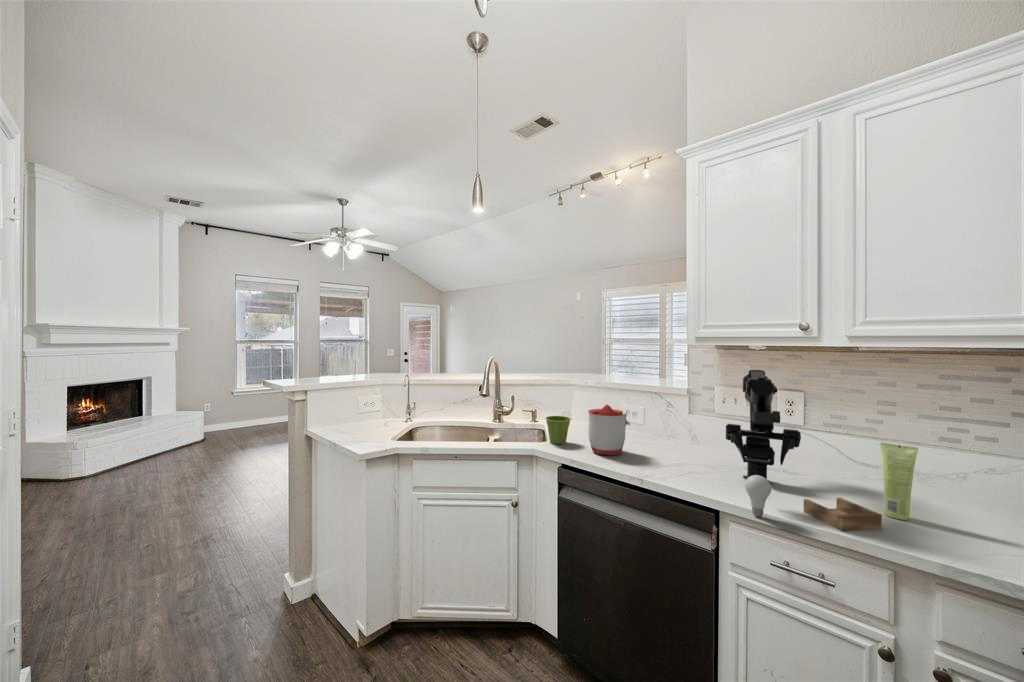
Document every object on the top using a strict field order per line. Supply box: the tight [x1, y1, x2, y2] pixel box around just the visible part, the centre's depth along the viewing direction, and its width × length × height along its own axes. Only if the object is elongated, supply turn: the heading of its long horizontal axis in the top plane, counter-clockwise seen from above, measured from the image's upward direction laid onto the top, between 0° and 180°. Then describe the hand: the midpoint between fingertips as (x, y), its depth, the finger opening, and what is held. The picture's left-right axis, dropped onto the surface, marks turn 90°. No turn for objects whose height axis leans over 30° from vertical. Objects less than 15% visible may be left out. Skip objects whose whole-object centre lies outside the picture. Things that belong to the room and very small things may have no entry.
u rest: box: [803, 497, 883, 532], centre depth 110 cm, size 11×11×4 cm
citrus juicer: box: [587, 404, 631, 456], centre depth 175 cm, size 16×17×20 cm
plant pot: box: [544, 415, 572, 445], centre depth 190 cm, size 12×12×11 cm
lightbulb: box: [744, 475, 772, 518], centre depth 112 cm, size 6×6×11 cm
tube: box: [879, 442, 919, 521], centre depth 113 cm, size 6×5×20 cm
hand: (762, 462), depth 118 cm, fingers open, 9 cm apart
